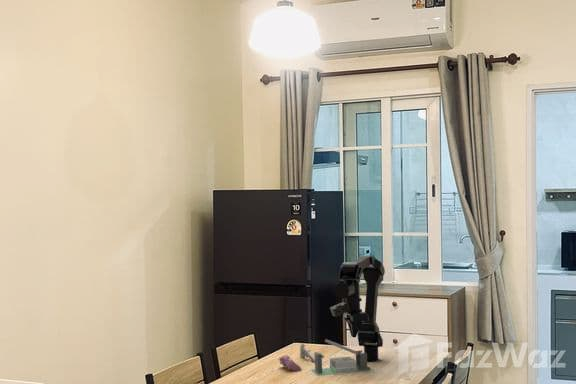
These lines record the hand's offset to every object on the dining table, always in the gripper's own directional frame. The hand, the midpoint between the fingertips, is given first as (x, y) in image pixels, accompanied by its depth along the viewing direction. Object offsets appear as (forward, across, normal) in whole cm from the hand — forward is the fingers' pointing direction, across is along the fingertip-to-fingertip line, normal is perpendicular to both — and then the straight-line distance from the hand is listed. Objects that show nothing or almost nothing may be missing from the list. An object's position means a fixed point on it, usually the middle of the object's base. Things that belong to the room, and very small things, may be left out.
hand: (353, 337), depth 254 cm
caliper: (+14, -22, -11) cm, 28 cm away
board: (+13, -2, -4) cm, 14 cm away
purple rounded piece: (+13, -11, -22) cm, 28 cm away
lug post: (+12, -2, -14) cm, 19 cm away
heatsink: (+12, -2, -4) cm, 13 cm away
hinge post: (+12, -2, +4) cm, 13 cm away
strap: (+5, -2, -3) cm, 6 cm away
